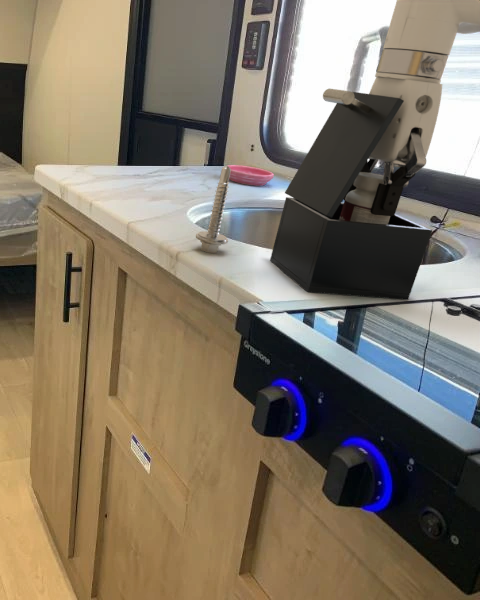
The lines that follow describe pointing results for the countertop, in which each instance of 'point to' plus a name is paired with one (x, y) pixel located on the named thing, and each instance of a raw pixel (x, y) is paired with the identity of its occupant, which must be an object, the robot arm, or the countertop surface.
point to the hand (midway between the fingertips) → (367, 207)
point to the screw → (216, 216)
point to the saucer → (249, 175)
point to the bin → (348, 252)
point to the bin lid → (342, 148)
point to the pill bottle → (363, 200)
